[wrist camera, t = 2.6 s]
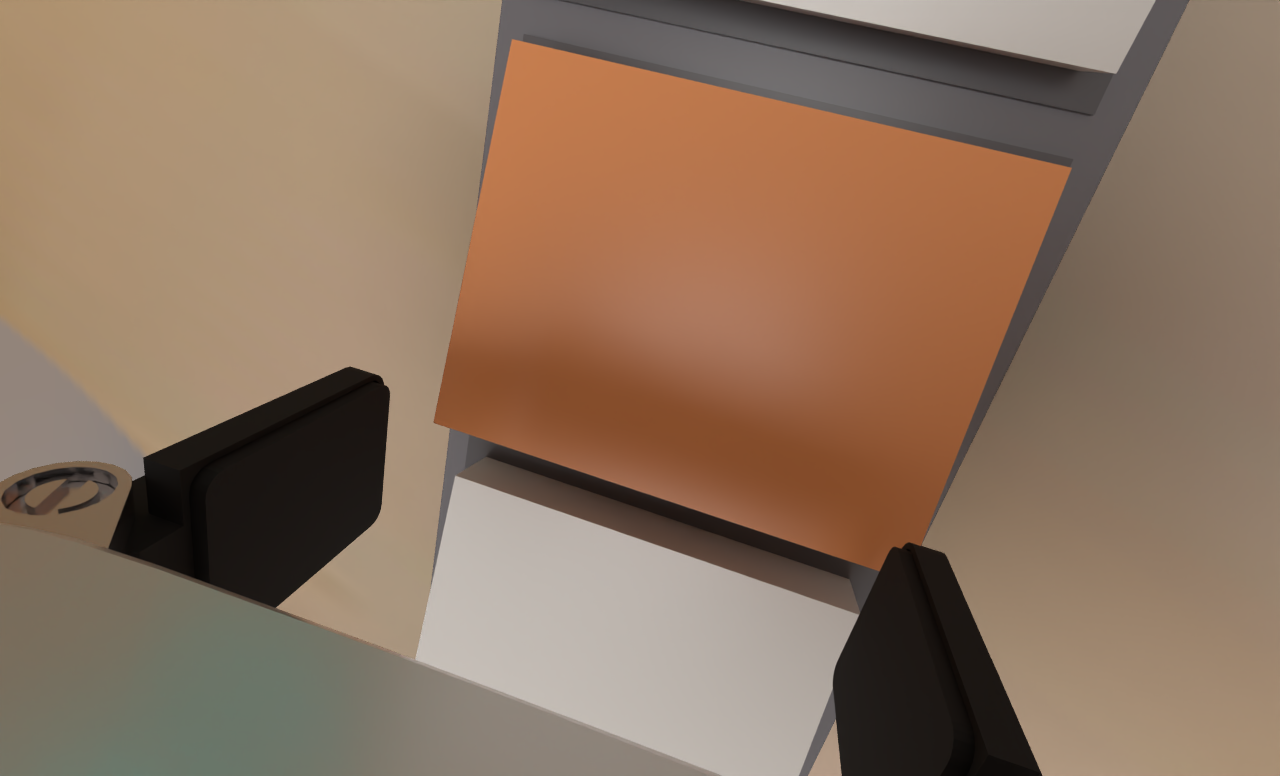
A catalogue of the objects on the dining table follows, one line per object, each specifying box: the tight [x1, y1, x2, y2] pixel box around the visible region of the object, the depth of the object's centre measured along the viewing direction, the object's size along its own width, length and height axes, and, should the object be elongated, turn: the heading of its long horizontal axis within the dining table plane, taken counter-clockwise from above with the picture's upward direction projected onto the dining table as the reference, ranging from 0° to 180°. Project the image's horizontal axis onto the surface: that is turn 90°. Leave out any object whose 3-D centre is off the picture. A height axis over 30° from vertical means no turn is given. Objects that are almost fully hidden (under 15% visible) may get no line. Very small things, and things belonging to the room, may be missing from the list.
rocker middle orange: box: [434, 39, 1072, 571], centre depth 13 cm, size 10×8×2 cm
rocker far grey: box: [415, 457, 860, 776], centre depth 16 cm, size 10×8×2 cm
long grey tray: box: [430, 0, 1189, 776], centre depth 14 cm, size 13×40×5 cm, turn 167°
